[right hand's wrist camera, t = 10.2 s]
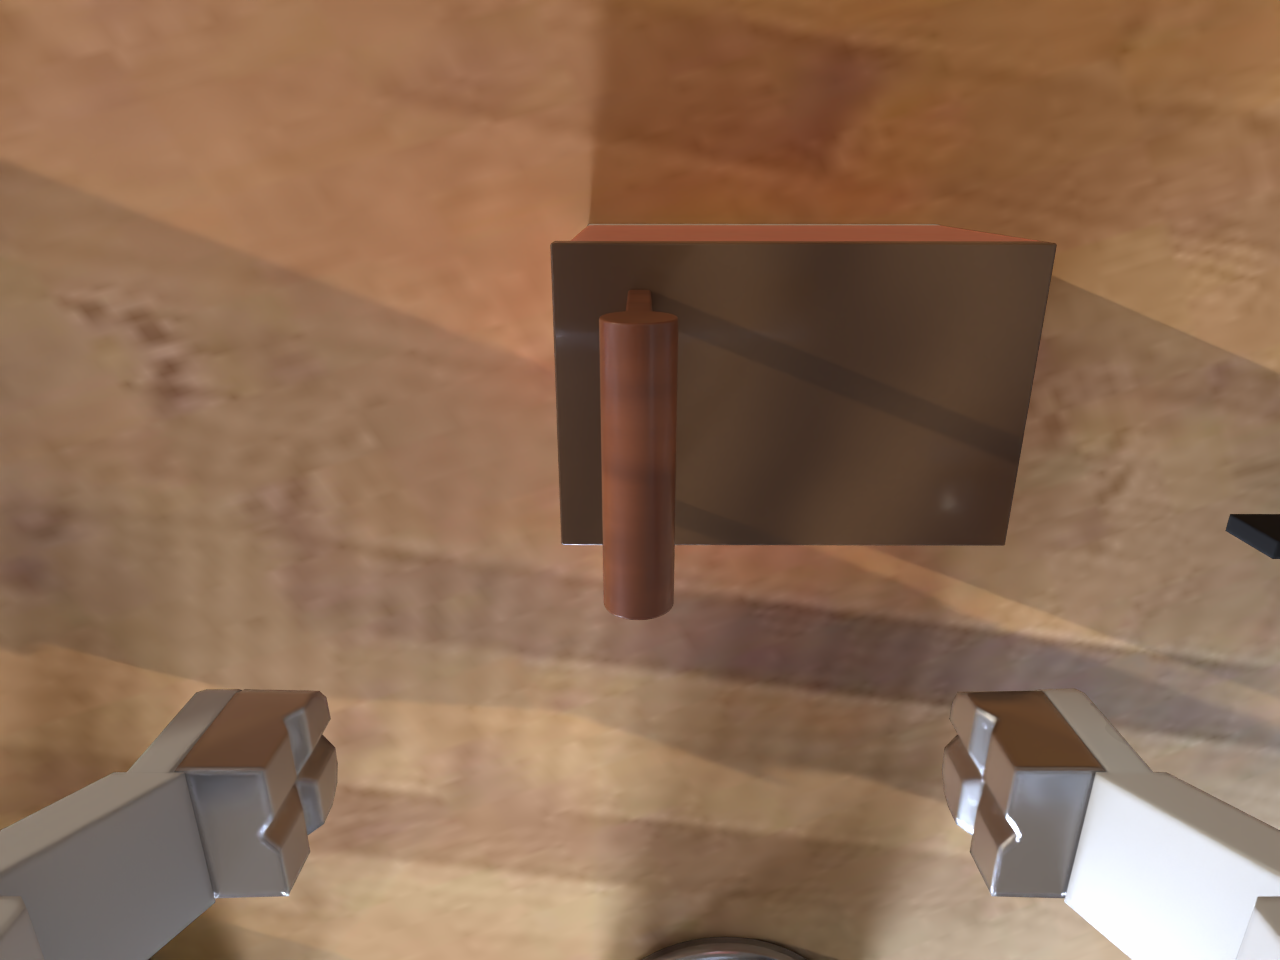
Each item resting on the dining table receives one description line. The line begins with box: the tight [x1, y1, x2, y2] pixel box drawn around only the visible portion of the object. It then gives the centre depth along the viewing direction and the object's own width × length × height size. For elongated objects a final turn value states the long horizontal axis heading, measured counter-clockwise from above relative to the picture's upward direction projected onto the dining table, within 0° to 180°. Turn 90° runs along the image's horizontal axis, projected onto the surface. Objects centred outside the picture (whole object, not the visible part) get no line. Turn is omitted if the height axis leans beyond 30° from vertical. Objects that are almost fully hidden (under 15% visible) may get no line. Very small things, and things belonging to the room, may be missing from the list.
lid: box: [550, 241, 1057, 620], centre depth 23 cm, size 15×10×8 cm, turn 90°
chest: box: [571, 224, 1037, 241], centre depth 31 cm, size 15×10×10 cm
